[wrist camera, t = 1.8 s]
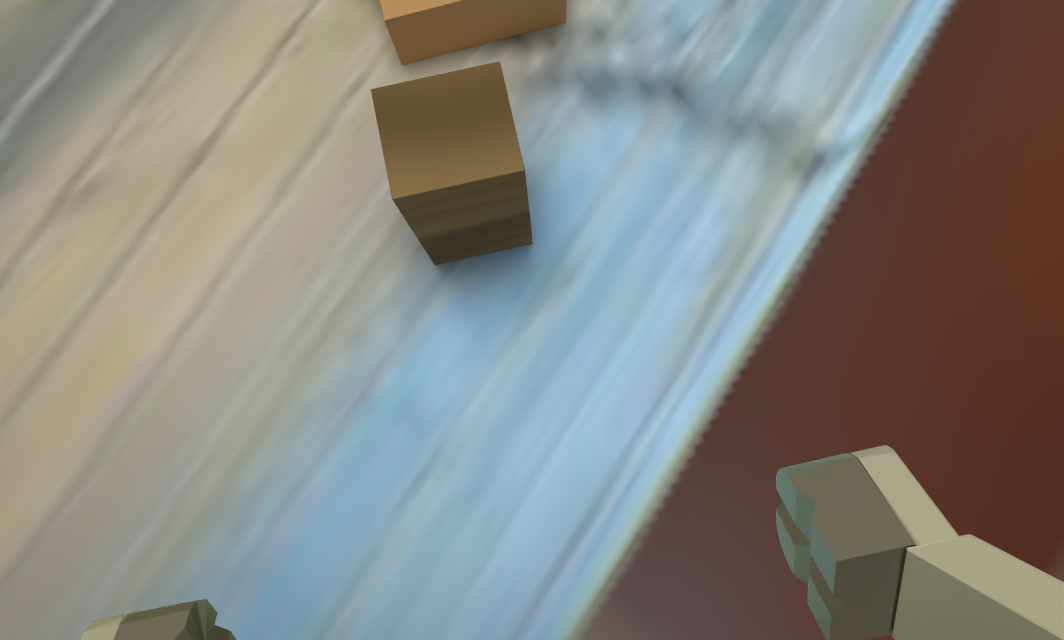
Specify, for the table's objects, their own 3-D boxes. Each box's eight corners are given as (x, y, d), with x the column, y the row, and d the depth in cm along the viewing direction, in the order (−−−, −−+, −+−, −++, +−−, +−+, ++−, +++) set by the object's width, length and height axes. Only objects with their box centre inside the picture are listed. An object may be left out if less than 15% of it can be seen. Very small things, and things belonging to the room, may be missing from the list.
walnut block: (532, 243, 34) (524, 169, 25) (434, 264, 34) (392, 199, 25) (513, 161, 35) (500, 61, 26) (418, 181, 35) (370, 89, 26)
